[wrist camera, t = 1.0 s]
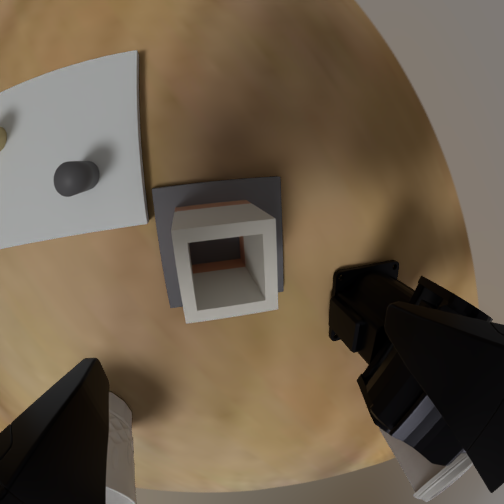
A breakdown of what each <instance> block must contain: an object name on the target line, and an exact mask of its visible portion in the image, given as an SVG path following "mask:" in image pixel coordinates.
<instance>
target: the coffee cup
mask: <svg viewBox="0 0 504 504" xmlns="http://www.w3.org/2000/svg"><path fill="white" fill-rule="evenodd" d="M380 431H381V433H382V435H383V436H384V438H385V440H386V441H387V443H388V445H389V447H390V448H391V450H392V452H393V453H394V455H395V457H396V459H397V460H398V462H399V464H400V466H401V467H402V469H403V471H404V472H405V474H406V476H407V478H408V480H409V482H410V483H411V485H412V487H413V489H414V491H415V494H414V495H413V496H414V497H415V498H418V499H422V500H424V501H425V502H427V501H429V500H431V499H432V498H434V497H436V496H437V495H438V494H440V493H441V492H443V491H444V490H445V489H446V488H448V487H449V486H450V485H451V484H453V482H455V481H456V480H457V479H458V478H459V477H460V476H462V475H463V474H464V473H465V472H466V471H467V470H468V469H469V468H470V467H471V466H472V464H473V463H472V461H471V460H470V458H469V457H468V455H467V453H463V454H460V455H459V456H458V457H457V458H456V459H455V460H454V461H453V462H452V463H451V464H450V465H448V466H442V465H436V464H432V463H431V462H429V461H428V460H427V459H426V458H425V457H424V456H422V455H421V454H420V453H419V452H418V451H416V450H415V449H414V448H413V447H411V446H409V445H408V444H406V443H405V442H403V441H401V440H398V439H396V438H394V437H392V436H390V435H389V434H388V433H386V432H385V431H383V430H382V429H381V428H380Z"/></svg>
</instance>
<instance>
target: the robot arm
mask: <svg viewBox="0 0 504 504" xmlns="http://www.w3.org/2000/svg"><path fill="white" fill-rule="evenodd" d="M393 266H394V267H393ZM398 270H399V263H398V262H397V261H395V260H390V261H385V262H380V263H374V264H369V265H364V266H358V267H353V268H347V269H342V270H338V271H336V272H335V274H334V277H333V292H332V298H331V300H330V313H329V326H330V328H329V337H330V339H331V340H332V341H337V340H340V339H341V340H342V341H343V342H344V343H345V345H346V346H347V347H348V348H349V349H350V350H351V351H352V352H353V353H355V352H358V353H359V354H360V355H361V357H362V358H363V359H364V360H365V361H366V362H367V363H368V364H369V366H368V367H367V368H366V370H365V371H364V373H363V374H361V375H360V376H359V378H358V379H357V382H358V385H359V387H360V390H361V392H362V395H363V397H364V400H365V402H366V405H367V408H368V410H369V413H370V415H371V417H372V419H373V421H374V423H375V424H376V425H377V426H379V427H380V428H381V429H382V430H383V431H385V432H386V433H388V434H389V435H390V436H392V437H394V438H396V439H398V440H401V441H403V442H405V443H406V444H408V445H409V446H411V447H413V448H414V449H415V450H416V451H418V452H419V453H420V454H421V455H422V456H424V457H425V458H426V459H427V460H428V461H429V462H431V463H432V464H436V465H442V466H448V465H450V464H451V463H452V462H453V461H454V460H455V459H456V458H457V457H458V456H459V455H460V454H463V453H467V455H468V457H469V458H470V460H471V461H472V463H473V464H474V466H475V468H476V469H477V471H478V473H479V474H480V476H481V478H482V479H483V481H484V483H485V484H486V486H487V488H488V489H489V491H490V492H491V493H493V492H494V491H495V490H496V489H497V488H498V487H500V486H501V485H502V484H503V483H504V325H502V324H497V323H493V322H492V320H493V319H492V318H491V317H489V316H488V315H486V314H485V313H484V312H482V311H481V310H479V309H477V308H476V307H474V306H473V305H471V304H470V303H468V302H466V301H465V300H463V299H462V298H460V297H458V296H457V295H455V294H453V293H452V292H450V291H448V290H446V289H445V288H443V287H441V286H439V285H437V284H436V283H434V282H432V281H430V280H428V279H427V278H425V277H423V276H421V277H420V279H419V281H418V283H419V284H418V286H417V288H416V289H415V290H413V289H412V288H410V287H408V286H407V285H405V284H404V283H402V282H400V281H399V280H397V277H398ZM340 275H342V277H341V278H340V279H339V276H340ZM335 334H336V335H335ZM334 335H335V336H334ZM108 437H109V382H108V379H107V376H106V374H105V372H104V370H103V368H102V365H101V363H100V361H99V360H98V359H97V358H85V359H83V360H82V361H81V362H80V363H79V364H77V365H76V366H75V367H74V368H73V369H72V370H70V371H69V372H68V373H67V374H66V375H65V376H63V377H62V378H61V379H60V380H59V381H58V382H57V383H55V384H54V385H53V386H52V387H51V388H50V389H49V390H47V391H46V392H45V393H44V394H43V395H42V396H41V397H40V398H38V399H37V400H36V401H35V402H34V403H33V404H32V405H31V406H29V407H28V408H27V409H26V410H25V411H24V412H23V413H22V414H21V415H19V416H18V417H17V418H16V419H15V420H14V421H13V422H12V423H11V424H9V425H8V426H7V427H6V428H5V429H4V430H3V431H2V432H1V433H0V504H106V467H107V450H108Z"/></svg>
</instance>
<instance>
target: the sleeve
mask: <svg viewBox="0 0 504 504" xmlns="http://www.w3.org/2000/svg"><path fill="white" fill-rule="evenodd" d="M171 234H172V241H173V248H174V255H175V262H176V268H177V274H178V281H179V287H180V292H181V298H182V304H183V309H184V314H185V320H186V324H187V323H194V322H201V321H209V320H215V319H222V318H229V317H235V316H241V315H247V314H253V313H259V312H265V311H271V310H276V309H278V279H277V242H276V219H275V218H274V217H272V216H271V215H269V214H268V213H266V212H264V211H263V210H261V209H260V208H258V207H257V206H255V205H253V204H252V203H250V202H249V201H247V200H239V201H229V202H219V203H210V204H201V205H192V206H184V207H176V208H175V211H174V217H173V223H172V228H171ZM232 237H239V243H240V257H241V259H233V260H226V261H218V262H210V263H203V264H195V265H192V262H191V255H190V247H189V243H191V242H199V241H207V240H215V239H223V238H232Z"/></svg>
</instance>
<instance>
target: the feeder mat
mask: <svg viewBox="0 0 504 504" xmlns="http://www.w3.org/2000/svg"><path fill="white" fill-rule="evenodd" d="M152 195H153V203H154V212H155V219H156V227H157V234H158V241H159V247H160V254H161V260H162V266H163V271H164V277H165V283H166V288H167V293H168V298H169V303H170V308H175V307H183V304H182V298H181V292H180V287H179V281H178V274H177V268H176V262H175V255H174V248H173V241H172V234H171V228H172V223H173V217H174V211H175V208H176V207H184V206H192V205H201V204H210V203H219V202H229V201H239V200H247V201H249V202H250V203H252V204H253V205H255V206H257V207H258V208H260V209H261V210H263V211H264V212H266V213H268V214H269V215H271V216H272V217H274V218H275V219H276V242H277V279H278V292H282V291H283V240H282V207H281V180H280V177H278V176H274V177H258V178H244V179H232V180H221V181H210V182H201V183H191V184H183V185H174V186H167V187H159V188H153V189H152ZM189 247H190V255H191V262H192V265H195V264H203V263H210V262H218V261H226V260H233V259H241V257H240V243H239V237H232V238H223V239H215V240H207V241H199V242H191V243H189Z"/></svg>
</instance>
